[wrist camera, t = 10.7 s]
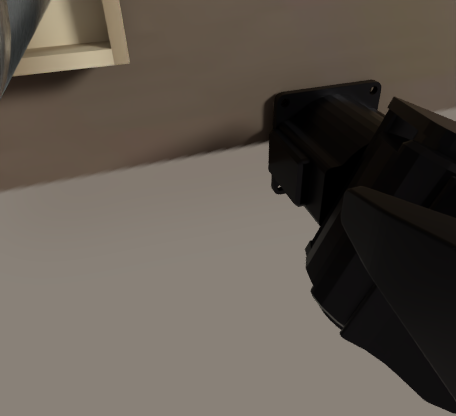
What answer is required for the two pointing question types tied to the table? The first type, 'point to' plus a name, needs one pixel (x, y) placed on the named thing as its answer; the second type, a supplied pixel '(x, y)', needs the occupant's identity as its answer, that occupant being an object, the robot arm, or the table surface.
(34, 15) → the canister
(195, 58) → the table surface
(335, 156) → the robot arm
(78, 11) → the square wooden tray
